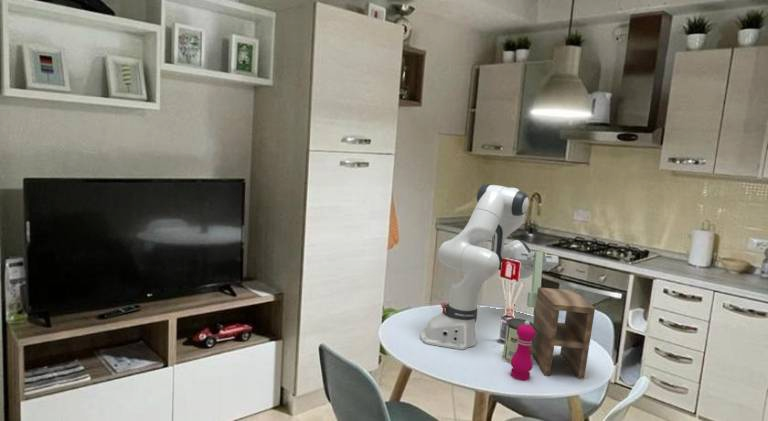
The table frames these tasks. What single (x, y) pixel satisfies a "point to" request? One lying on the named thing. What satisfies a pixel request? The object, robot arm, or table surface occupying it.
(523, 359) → the pepper mill
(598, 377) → the table surface
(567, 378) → the table surface
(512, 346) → the coffee can
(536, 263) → the green bar
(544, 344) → the walnut shelf
